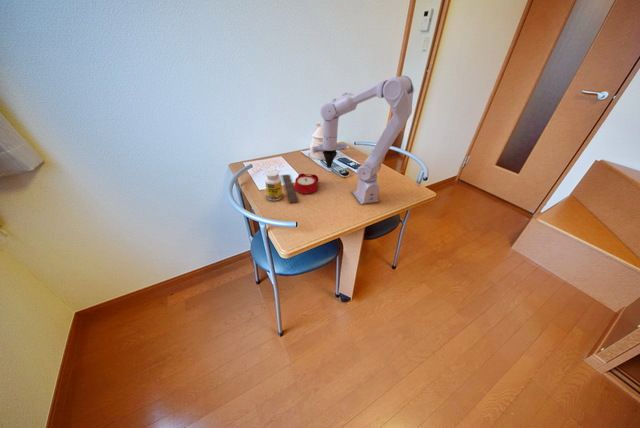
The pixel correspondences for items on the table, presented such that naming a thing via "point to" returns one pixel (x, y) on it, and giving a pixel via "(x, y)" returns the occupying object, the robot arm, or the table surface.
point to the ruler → (289, 189)
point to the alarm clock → (306, 183)
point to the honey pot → (317, 142)
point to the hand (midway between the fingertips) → (328, 166)
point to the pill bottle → (273, 186)
